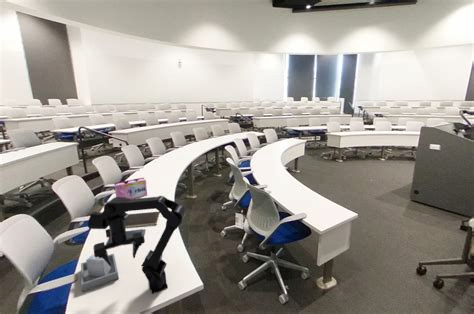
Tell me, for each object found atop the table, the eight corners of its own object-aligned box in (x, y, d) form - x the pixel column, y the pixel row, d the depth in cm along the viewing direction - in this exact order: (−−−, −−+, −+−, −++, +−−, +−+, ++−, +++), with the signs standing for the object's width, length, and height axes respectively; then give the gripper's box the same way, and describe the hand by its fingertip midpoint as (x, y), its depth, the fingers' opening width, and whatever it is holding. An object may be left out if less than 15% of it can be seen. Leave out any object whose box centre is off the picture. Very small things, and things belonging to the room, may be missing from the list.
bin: (114, 259, 124) (113, 253, 123) (118, 278, 111) (117, 272, 110) (82, 269, 117) (81, 263, 116) (82, 291, 103) (81, 284, 103)
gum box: (146, 192, 212) (144, 177, 209) (149, 194, 206) (147, 179, 202) (116, 198, 198) (113, 182, 195) (118, 202, 192) (115, 185, 189)
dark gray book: (145, 227, 152) (142, 241, 137) (146, 230, 152) (142, 244, 138) (111, 231, 148) (103, 245, 133) (111, 234, 148) (103, 248, 134)
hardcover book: (156, 225, 158) (156, 222, 157) (118, 229, 154) (118, 225, 153) (159, 214, 173) (159, 211, 172) (125, 217, 169) (124, 214, 168)
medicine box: (111, 270, 115) (108, 254, 113) (105, 277, 111) (102, 260, 109) (94, 270, 116) (91, 253, 114) (88, 276, 111) (85, 260, 109)
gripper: (137, 214, 112) (141, 245, 115) (90, 226, 102) (96, 258, 106) (143, 225, 102) (146, 257, 106) (91, 238, 93) (97, 274, 97)
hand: (122, 261), depth 104 cm, fingers open, 9 cm apart
